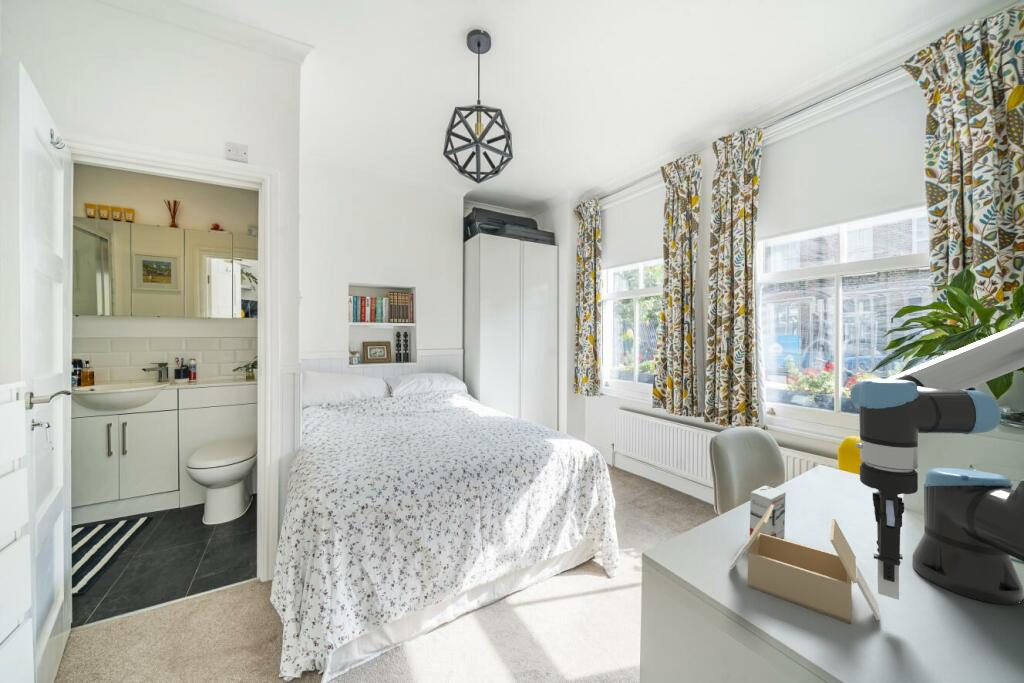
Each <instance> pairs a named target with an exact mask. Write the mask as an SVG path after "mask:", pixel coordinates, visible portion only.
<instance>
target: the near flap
mask: <svg viewBox="0 0 1024 683" xmlns="http://www.w3.org/2000/svg"><path fill="white" fill-rule="evenodd" d="M829 536H830V538H829V541H830V543H831V544H832V546H833V548H834V550H835V552H836V554H837V555H838V556H839V558H840V560H841V562H842V563H843V565H844V567H845V569H846V571H847V573H848V575H849V576H850V578H851V580H852V584H857V586H858V588H859V590H860V591H861V594H862V595H863V597H864V599H865V601H866V602H867V605H868V606H869V608H870V611H871V612H872V614H873V616H874V617H875V619H876V620H877V621H880V620H881V616H880V615H881V614H880V607H879V603H878V601H877V600H876V598H875V596H874V594H873V592H872V590H871V589H870V587H869V585H868V583H867V581H866V580H865V577H864V576H863V574H862V572H861V571H860V568H859V566H858V565H856V564H857V562H856V559H857V558H856V555H855V553H854V551H853V550H852V547H851V546H850V543H849V542H848V540H847V539H846V537H845V535H844V533H843V531H842V528H840V526H839V524H838V523H837V520H836V519H835V518H831V526H830V535H829Z"/></svg>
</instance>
